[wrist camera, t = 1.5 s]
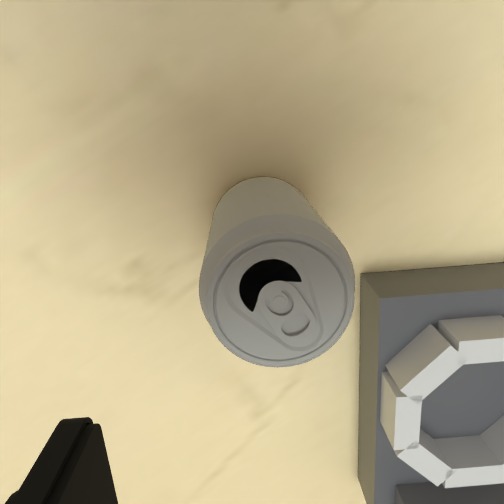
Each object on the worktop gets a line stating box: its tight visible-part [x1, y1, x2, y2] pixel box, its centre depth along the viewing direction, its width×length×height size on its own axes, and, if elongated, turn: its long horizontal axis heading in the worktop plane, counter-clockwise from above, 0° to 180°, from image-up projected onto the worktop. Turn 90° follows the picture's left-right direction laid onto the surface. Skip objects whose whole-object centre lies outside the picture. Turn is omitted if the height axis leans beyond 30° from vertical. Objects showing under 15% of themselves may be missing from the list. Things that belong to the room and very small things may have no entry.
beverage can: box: [199, 177, 355, 367], centre depth 21 cm, size 6×6×12 cm
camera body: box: [358, 262, 504, 504], centre depth 27 cm, size 18×11×8 cm, turn 4°
